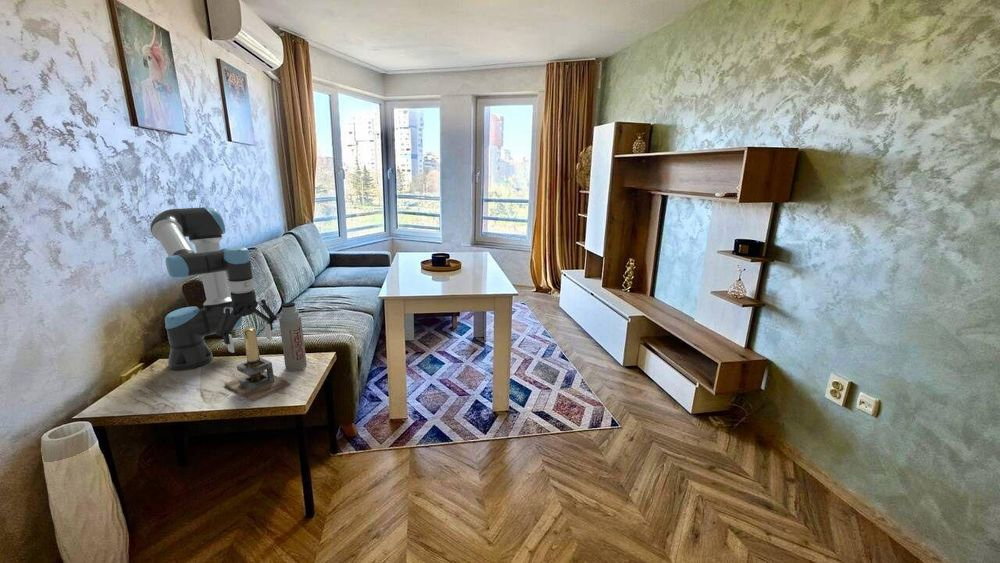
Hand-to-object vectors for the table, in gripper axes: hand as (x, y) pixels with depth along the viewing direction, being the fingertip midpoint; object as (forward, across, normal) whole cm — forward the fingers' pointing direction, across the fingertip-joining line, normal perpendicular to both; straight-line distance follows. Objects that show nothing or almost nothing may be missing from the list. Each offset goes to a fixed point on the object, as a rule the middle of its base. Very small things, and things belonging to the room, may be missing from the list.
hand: (251, 345), depth 152 cm
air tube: (+16, 0, 0) cm, 16 cm away
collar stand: (+17, 0, 0) cm, 17 cm away
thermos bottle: (+17, +17, +2) cm, 24 cm away
